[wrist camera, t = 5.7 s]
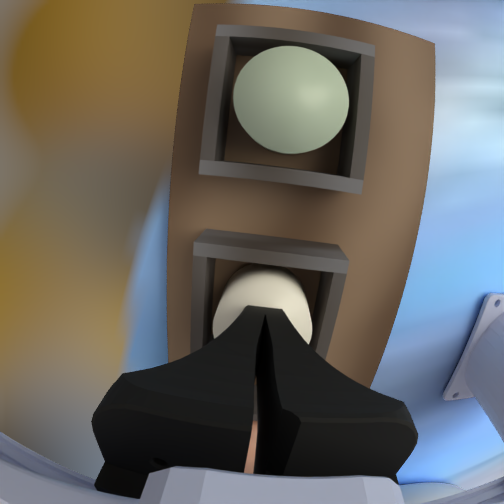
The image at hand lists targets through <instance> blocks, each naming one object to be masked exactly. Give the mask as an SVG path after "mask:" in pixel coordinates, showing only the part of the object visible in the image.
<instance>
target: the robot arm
mask: <svg viewBox="0 0 504 504" xmlns="http://www.w3.org/2000/svg"><path fill="white" fill-rule="evenodd" d="M496 300H497V301H496ZM495 302H496V303H495ZM255 378H256V387H257V440H256V451H255V461H254V471H253V474H248V473H244V470H245V465H246V460H247V454H248V449H249V444H250V438H251V433H252V425H253V414H254V383H255ZM472 397H475V398H476V399H477V401H478V402H479V404H480V405H481V407H482V408H483V410H484V412H485V413H486V415H487V416H488V418H489V419H490V421H491V422H492V424H493V426H494V427H495V429H496V430H497V432H498V434H499V435H500V437H501V438H502V440H503V442H504V294H499V293H489V294H488V295H487V296H486V297H485V299H484V302H483V305H482V307H481V310H480V313H479V316H478V318H477V321H476V324H475V326H474V329H473V331H472V334H471V336H470V338H469V341H468V343H467V345H466V348H465V350H464V352H463V354H462V357H461V359H460V361H459V363H458V365H457V367H456V369H455V371H454V373H453V375H452V377H451V379H450V381H449V383H448V385H447V387H446V389H445V391H444V393H443V398H444V400H445V401H449V400H457V399H465V398H472ZM91 422H92V427H93V432H94V435H95V437H96V440H97V443H98V445H99V448H100V450H101V453H102V455H103V458H104V460H105V463H104V465H103V467H102V469H101V471H100V473H99V475H98V477H97V479H96V480H95V479H92V478H90V477H87V476H85V475H82V474H80V473H78V472H75V471H73V470H71V469H69V468H66V467H64V466H62V465H60V464H58V463H56V462H54V461H51V460H49V459H47V458H45V457H43V456H41V455H40V454H38V453H36V452H34V451H32V450H30V449H28V448H27V447H25V446H23V445H21V444H20V443H18V442H16V441H15V440H13V439H11V438H9V437H8V436H6V435H5V434H3V433H1V432H0V504H405V503H404V499H403V496H402V492H401V489H400V486H399V485H398V484H399V483H398V480H397V476H396V473H397V472H398V471H399V469H400V468H401V467H402V465H403V464H404V463H405V461H406V460H407V459H408V457H409V456H410V454H411V453H412V451H413V450H414V448H415V446H416V444H417V439H418V433H417V430H416V428H415V425H414V423H413V420H412V418H411V415H410V413H409V411H408V409H407V407H406V405H405V404H404V402H402V401H399V400H397V399H394V398H391V397H389V396H386V395H383V394H381V393H378V392H376V391H373V390H371V389H369V388H367V387H365V386H363V385H361V384H359V383H358V382H356V381H354V380H352V379H351V378H349V377H348V376H346V375H344V374H343V373H341V372H340V371H338V370H337V369H336V368H334V367H333V366H332V365H330V364H329V363H328V362H327V361H326V360H324V359H323V358H322V357H321V356H320V355H319V354H317V353H316V352H315V351H314V350H313V349H312V348H311V346H310V345H309V344H308V343H307V342H306V341H305V340H304V339H303V338H302V336H301V335H300V334H299V332H298V331H297V330H296V328H295V327H294V326H293V324H292V323H291V321H290V320H289V318H288V317H287V315H286V314H285V312H284V311H283V309H278V308H269V307H260V306H252V305H247V306H246V307H245V308H244V309H243V311H242V312H241V314H240V315H239V316H238V317H237V318H236V319H235V320H234V322H233V323H232V324H231V325H230V326H229V327H228V328H227V329H226V330H224V331H223V332H222V333H221V334H220V335H219V336H217V337H216V338H215V339H214V340H212V341H211V342H210V343H208V344H207V345H205V346H204V347H202V348H201V349H199V350H197V351H195V352H193V353H191V354H189V355H187V356H185V357H183V358H181V359H178V360H175V361H173V362H170V363H167V364H164V365H161V366H157V367H154V368H150V369H145V370H140V371H135V372H129V373H123V374H122V375H121V376H120V377H119V378H118V380H117V381H116V382H115V383H114V384H113V385H112V386H111V388H110V389H109V390H108V392H107V393H106V395H105V396H104V398H103V400H102V401H101V403H100V404H99V406H98V407H97V409H96V411H95V412H94V414H93V418H92V421H91ZM421 504H504V477H502V478H499V479H497V480H494V481H492V482H489V483H487V484H484V485H481V486H479V487H476V488H473V489H470V490H467V491H464V492H461V493H458V494H455V495H451V496H448V497H444V498H441V499H437V500H433V501H430V502H425V503H421Z"/></svg>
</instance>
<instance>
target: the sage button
mask: <svg viewBox="0 0 504 504" xmlns="http://www.w3.org/2000/svg"><path fill="white" fill-rule="evenodd" d="M233 102H234V108H235V112H236V115H237V118H238V120H239V122H240V123H241V125H242V127H243V128H244V129H245V131H246V132H247V133H248V134H249V135H250V136H251V137H252V138H253V139H254V141H255V142H257V143H258V144H259V145H260V146H262V147H264V148H265V149H267V150H269V151H272V152H275V153H279V154H286V155H292V154H299V153H304V152H308V151H311V150H315V149H317V148H319V147H321V146H323V145H325V144H326V143H328V142H329V141H330V140H331V139H333V138H334V137H335V136H336V134H337V133H338V132H339V131H340V129H341V128H342V126H343V124H344V122H345V120H346V117H347V114H348V108H349V97H348V91H347V87H346V84H345V82H344V79H343V77H342V76H341V74H340V72H339V71H338V70H337V68H336V67H335V66H334V65H333V64H332V63H331V62H330V61H329V60H327V59H326V58H325V57H323V56H322V55H320V54H319V53H316V52H314V51H312V50H309V49H306V48H302V47H297V46H280V47H275V48H271V49H268V50H266V51H263V52H261V53H259V54H258V55H256V56H255V57H253V58H252V59H251V60H250V61H249V62H248V63H247V64H246V65H245V66H244V67H243V69H242V70H241V71H240V73H239V75H238V77H237V80H236V83H235V86H234V91H233Z"/></svg>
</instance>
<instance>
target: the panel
mask: <svg viewBox="0 0 504 504" xmlns="http://www.w3.org/2000/svg"><path fill="white" fill-rule="evenodd" d="M280 46H297V47H302V48H306V49H309V50H312V51H314V52H316V53H319V54H320V55H322V56H323V57H325V58H326V59H327V60H329V61H330V62H331V63H332V64H333V65H334V66H335V67H336V68H337V70H338V71H339V72H340V74H341V76H342V77H343V79H344V82H345V84H346V87H347V91H348V97H349V108H348V114H347V117H346V120H345V122H344V124H343V126H342V128H341V129H340V131H339V132H338V133H337V134H336V136H335V137H334V138H333V139H331V140H330V141H329V142H328V143H326V144H325V145H323V146H321V147H319V148H317V149H315V150H311V151H308V152H304V153H299V154H292V155H286V154H279V153H275V152H272V151H269V150H267V149H265V148H264V147H262V146H260V145H259V144H258V143H257V142H255V141H254V139H253V138H252V137H251V136H250V135H249V134H248V133H247V132H246V131H245V129H244V128H243V127H242V125H241V123H240V122H239V120H238V118H237V115H236V112H235V108H234V102H233V91H234V86H235V83H236V80H237V77H238V75H239V73H240V71H241V70H242V69H243V67H244V66H245V65H246V64H247V63H248V62H249V61H250V60H251V59H252V58H253V57H255V56H256V55H258V54H259V53H261V52H263V51H266V50H268V49H271V48H275V47H280ZM434 105H435V44H434V43H432V42H429V41H427V40H424V39H421V38H418V37H416V36H413V35H410V34H407V33H404V32H401V31H398V30H394V29H391V28H388V27H384V26H381V25H377V24H373V23H370V22H366V21H362V20H358V19H353V18H349V17H344V16H339V15H334V14H329V13H324V12H318V11H311V10H305V9H297V8H289V7H280V6H269V5H254V4H195V5H194V9H193V14H192V19H191V24H190V29H189V35H188V40H187V47H186V53H185V58H184V65H183V71H182V78H181V85H180V94H179V101H178V109H177V117H176V126H175V136H174V146H173V157H172V170H171V183H170V199H169V218H168V244H167V338H168V363H170V362H173V361H175V360H178V359H181V358H183V357H185V356H187V355H189V354H191V353H193V352H195V351H197V350H199V349H201V348H202V347H204V346H205V345H207V344H208V343H210V342H211V341H212V340H214V335H213V320H214V316H215V313H216V310H217V308H218V305H219V302H220V299H221V297H222V294H223V291H224V288H225V286H226V284H227V282H228V280H229V279H230V278H231V277H232V275H233V274H234V273H236V272H237V271H238V270H240V269H241V268H243V267H245V266H247V265H250V264H254V263H259V264H267V265H275V266H283V267H285V268H287V269H288V270H290V271H291V272H293V273H294V274H295V275H296V276H297V277H298V279H299V280H300V282H301V283H302V285H303V287H304V290H305V294H306V299H307V303H308V308H309V312H310V317H311V322H312V336H311V340H310V343H309V345H310V346H311V348H312V349H313V350H314V351H315V352H316V353H317V354H319V355H320V356H321V357H322V358H323V359H324V360H326V361H327V362H328V363H329V364H330V365H332V366H333V367H334V368H336V369H337V370H338V371H340V372H341V373H343V374H344V375H346V376H348V377H349V378H351V379H352V380H354V381H356V382H358V383H359V384H361V385H363V386H365V387H367V388H369V389H370V386H371V384H372V381H373V379H374V376H375V374H376V371H377V369H378V366H379V364H380V361H381V358H382V356H383V353H384V350H385V347H386V345H387V342H388V339H389V336H390V333H391V330H392V327H393V324H394V321H395V318H396V315H397V311H398V308H399V305H400V301H401V298H402V295H403V291H404V288H405V284H406V280H407V277H408V273H409V269H410V265H411V261H412V257H413V252H414V248H415V244H416V239H417V235H418V230H419V225H420V220H421V215H422V209H423V203H424V198H425V191H426V185H427V178H428V171H429V163H430V155H431V145H432V135H433V122H434ZM253 421H257V387H256V378H255V383H254V414H253Z"/></svg>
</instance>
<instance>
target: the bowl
mask: <svg viewBox="0 0 504 504" xmlns="http://www.w3.org/2000/svg"><path fill="white" fill-rule="evenodd" d="M399 486H400V489H401V492H402V496H403V499H404V503H405V504H421V503H425V502H430V501H433V500H437V499H441V498H444V497H448V496H451V495H455V494H458V493H461V492H464V491H466V490H464V489H462V488H460V487H458V486H455V485H452V484H447V483H435V482H433V483H414V484H405V485H399Z"/></svg>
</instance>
